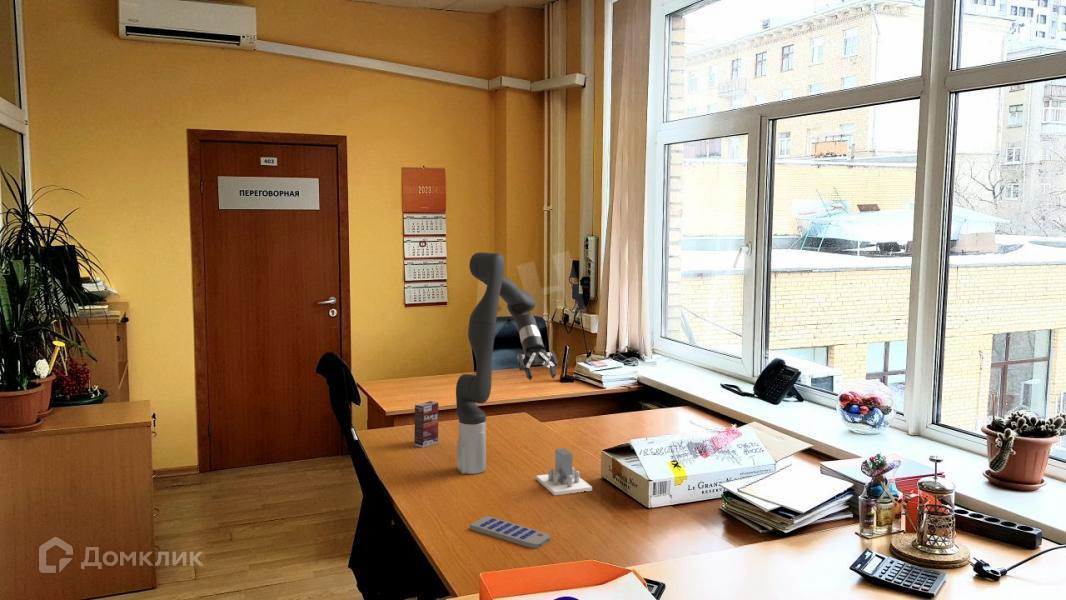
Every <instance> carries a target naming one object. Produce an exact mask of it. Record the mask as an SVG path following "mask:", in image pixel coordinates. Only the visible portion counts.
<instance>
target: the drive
mask: <svg viewBox="0 0 1066 600" xmlns="http://www.w3.org/2000/svg"><path fill="white" fill-rule="evenodd" d="M554 454H555V455H554V456H555V458H554V459H555V460H554V473H557V474H558V482H559V483H561V484H562V485H564V484H567V476H568V475H572V467H573V453H572V452H571V451H570V450H569V449H567V448H565V447H564V448H556V449H555V451H554Z"/></svg>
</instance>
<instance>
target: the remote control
mask: <svg viewBox="0 0 1066 600" xmlns="http://www.w3.org/2000/svg"><path fill="white" fill-rule="evenodd" d="M469 530H471V531H475V532H478V533H481V534H484V535H488V536H490V537H491V536H492V537H494V538H497V539H500V540H505V541H508V542H510V543H512V544H513V543H514V544H517V545H521V546H524V547H527V548H530V549H539V548H540V547H542V546H544V545H545V544H547V543H549V542H550V540H551V539H550V535H549V533H547V532H544V531H540V530H537V529H533V528H529V527H526V526H523V525H520V524H516V523H514V522H510V521H506V520H502V519H499V518H496V517H493V516H489V515H486V516H484V517H482V518H480V519H478V520H476V521H474V522H472V523H471V524H469Z"/></svg>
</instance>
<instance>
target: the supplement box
mask: <svg viewBox="0 0 1066 600" xmlns="http://www.w3.org/2000/svg"><path fill="white" fill-rule="evenodd" d="M436 444H439V402H436V401H432V400H430V401H426V402H422V403H417V404H414V446H416V447H418V448H425V447H429V446H432V445H436Z"/></svg>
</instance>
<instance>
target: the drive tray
mask: <svg viewBox="0 0 1066 600" xmlns="http://www.w3.org/2000/svg"><path fill="white" fill-rule="evenodd" d="M547 473H548V474H547ZM547 473H546V474H540V475H539V474H538V475H536V476H535V479H536V481H537V482H539V483H540V484H541V485H542V486H543V487H545V488H546V489H547V490H548V491H549V492H550V493H551V494H552V495H553V496H562V495H570V493H571V494H576V493H577V492H578V493H583V492H584V491H586V492H591V491H593V486H592V485H591V484H589V483H588V482H587V481H585V480H584V479H582V478H581V477H580V471H579V470H575V467H574V466H572V475H568V476H567V484H564V485H562V484H561V483H559V482H558V474H557V473H555V472H554V469H548V472H547ZM578 493H577V494H578Z"/></svg>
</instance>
